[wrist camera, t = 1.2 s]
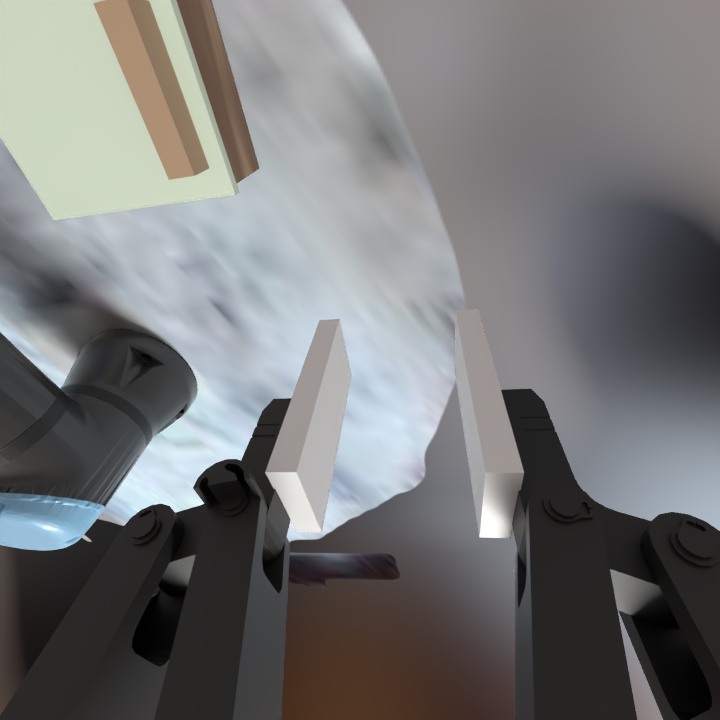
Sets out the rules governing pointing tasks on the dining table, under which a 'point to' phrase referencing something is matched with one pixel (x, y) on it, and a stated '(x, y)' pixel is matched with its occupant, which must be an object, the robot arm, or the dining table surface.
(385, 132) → the dining table surface
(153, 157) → the lid
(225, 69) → the box
